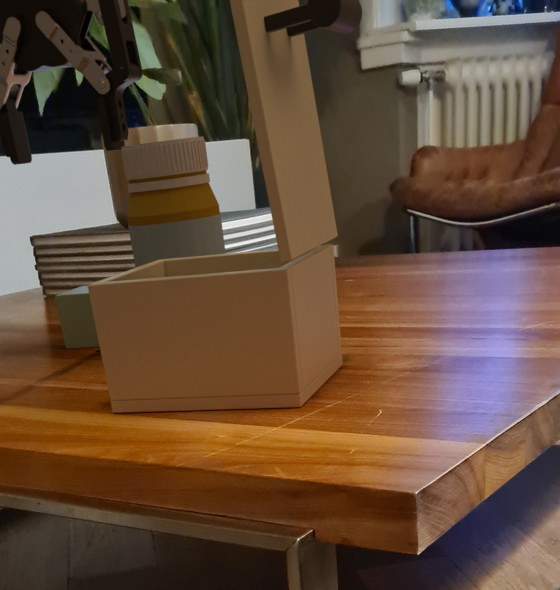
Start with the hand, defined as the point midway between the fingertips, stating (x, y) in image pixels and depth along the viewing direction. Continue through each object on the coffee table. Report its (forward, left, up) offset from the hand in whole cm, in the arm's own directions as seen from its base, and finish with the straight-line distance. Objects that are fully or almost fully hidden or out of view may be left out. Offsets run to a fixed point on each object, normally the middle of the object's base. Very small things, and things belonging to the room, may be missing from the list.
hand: (67, 157), depth 73 cm
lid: (+23, -17, 0) cm, 28 cm away
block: (0, 0, -15) cm, 15 cm away
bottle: (+10, -4, -15) cm, 19 cm away
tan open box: (+18, -17, -15) cm, 29 cm away
